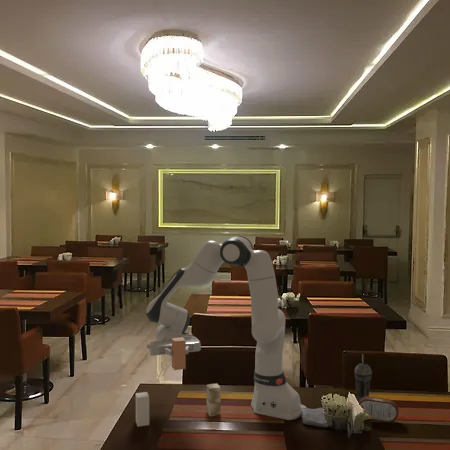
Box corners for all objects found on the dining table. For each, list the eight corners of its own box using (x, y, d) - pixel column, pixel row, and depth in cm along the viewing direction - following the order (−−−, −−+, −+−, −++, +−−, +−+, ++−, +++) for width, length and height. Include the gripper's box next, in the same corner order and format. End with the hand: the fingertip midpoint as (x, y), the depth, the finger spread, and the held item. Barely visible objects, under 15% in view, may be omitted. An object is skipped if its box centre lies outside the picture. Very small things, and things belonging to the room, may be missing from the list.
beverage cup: (373, 399, 217) (374, 352, 216) (368, 405, 211) (369, 357, 210) (356, 395, 221) (357, 349, 220) (351, 401, 215) (352, 354, 214)
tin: (398, 421, 197) (398, 399, 196) (398, 424, 194) (398, 402, 193) (357, 415, 202) (358, 394, 201) (357, 418, 199) (357, 397, 198)
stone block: (334, 432, 191) (331, 415, 201) (334, 421, 190) (331, 405, 200) (302, 432, 192) (300, 415, 202) (302, 421, 191) (300, 404, 201)
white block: (147, 420, 197) (147, 391, 196) (149, 424, 193) (149, 396, 192) (135, 421, 196) (135, 393, 195) (137, 426, 191) (137, 397, 191)
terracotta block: (182, 365, 200) (182, 337, 199) (185, 368, 196) (185, 340, 195) (171, 366, 199) (171, 338, 198) (174, 370, 195) (174, 341, 194)
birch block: (217, 410, 206) (217, 383, 205) (220, 414, 202) (220, 387, 201) (206, 411, 204) (206, 384, 204) (209, 416, 200) (209, 388, 200)
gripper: (145, 337, 206) (151, 347, 193) (195, 332, 212) (204, 342, 199) (145, 352, 206) (151, 363, 193) (195, 347, 213) (204, 358, 199)
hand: (179, 352), depth 196 cm, fingers closed on terracotta block, 4 cm apart
